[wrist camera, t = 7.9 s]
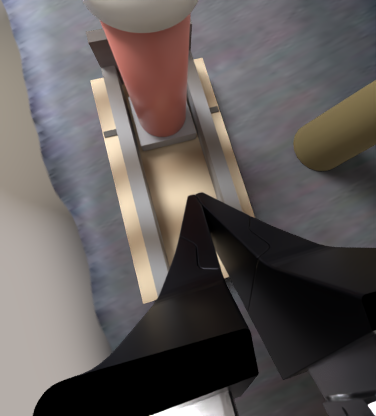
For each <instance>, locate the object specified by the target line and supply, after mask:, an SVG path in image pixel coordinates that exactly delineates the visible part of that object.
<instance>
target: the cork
mask: <svg viewBox="0 0 376 416" xmlns="http://www.w3.org/2000/svg"><path fill="white" fill-rule="evenodd" d="M293 143H294V151H295V153H296V155H297V158H298V159H299V160H300V161H301V162H302V164H304V165H305V166H307V167H308V168H310V169H313V170H316V171H327V170H330V169H333V168H334V167H336V166H338V165H340V164H342V163H343V162H345V161H347V160H349V159H351V158H352V157H354V156H356V155H358V154H360V153H361V152H363V151H365V150H367V149H369V148H370V147H372V146H374V145H376V80H375V81H373V82H372V83H370V84H369V85H367V86H366V87H364V88H362V89H361V90H359V91H358V92H356V93H355V94H353V95H351V96H350V97H348V98H347V99H345V100H344V101H342V102H340V103H339V104H337V105H336V106H334V107H333V108H331V109H329V110H328V111H326V112H325V113H323V114H322V115H320V116H318V117H317V118H315V119H314V120H312V121H311V122H309V123H307V124H306V125H304V126H303V127H302V128H300V129H299V130H298V132H297V133H296V135H295V138H294V142H293Z"/></svg>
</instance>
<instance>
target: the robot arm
mask: <svg viewBox="0 0 376 416" xmlns="http://www.w3.org/2000/svg"><path fill="white" fill-rule="evenodd" d="M216 252H217V254H218V256H219V258H220V260H221V262H222V264H223V266H224V267H225V269H226V271H227V273H228V275H229V277H230V279H231V281H232V283H233V285H234V287H235V289H236V291H237V292H238V294H239V296H240V298H241V300H242V302H243V304H244V306H245V308H246V310H247V311H248V314H249V316H250V318H251V319H252V321H253V323H254V325H255V327H256V329H257V331H258V333H259V335H260V337H261V339H262V341H263V342H264V344H265V346H266V348H267V350H268V352H269V354H270V356H271V358H272V360H273V362H274V364H275V365H276V367H277V369H278V371H279V373H280V375H281V377H282V379H283V380H285V379H288V378H291V377H293V376H296V375H299V374H301V373H304V372H307V371H309V373H310V375H311V376H312V378H313V380H314V381H315V383H316V385H317V386H318V388H319V390H320V392H321V393H322V395H323V397H324V398H325V400H326V402H323V406H324V408H325V410H326V411H327V413H328V415H329V416H376V248H346V247H330V246H324V245H320V244H317V243H314V242H311V241H309V240H306V239H304V238H301V237H299V236H296V235H293V234H291V233H288V232H286V231H283V230H281V229H278V228H276V227H273V226H271V225H269V224H266V223H264V222H262V221H260V220H258V219H256V218H254V217H252V216H251V217H250V215H248V214H246V213H244V212H242V211H240V210H238V209H236V208H234V207H232V206H230V205H228V204H226V203H224V202H221V201H219V200H217V199H215V198H213V197H211V196H209V195H207V194H205V193H203V192H200V193H197V194H193V195H189V196H188V197H187V201H186V206H185V211H184V216H183V220H182V225H181V230H180V234H179V239H178V243H177V247H176V251H175V254H174V257H173V260H172V263H171V266H170V268H169V271H168V274H167V276H166V279H165V281H164V284H163V287H162V289H161V292H160V294H159V296H158V298H157V300H156V302H155V303H154V305H153V306H152V307H151V308H150V310H149V311H148V312H147V313H146V314H145V315H144V317H143V318H142V319H141V320H140V321H139V322H138V324H137V325H136V326H135V327H134V328H133V329H132V331H131V332H130V333H129V334H128V335H127V336H126V338H125V339H124V340H123V341H122V342H121V344H120V345H119V346H118V347H117V348H116V349H115V350H114V351H113V352H112V353H111V355H110V356H109V357H107V358H106V359H105V360H104V361H103V362H102V363H100V364H99V365H97V366H96V367H94V368H93V369H92V370H89V371H87V372H85V373H83V374H80V375H77V376H74V377H72V378H69V379H66V380H63V381H61V382H58V383H56V384H54V385H53V386H51V387H50V388H49V389H47V390H46V391H45V392H44V394H43V395H42V396H41V398H40V399H39V401H38V403H37V405H36V407H35V409H34V413H33V416H239V414H238V411H237V407H236V404H235V400H234V399H235V398H237V397H240V396H241V395H242V394H243V393H244V391H245V390H246V389H247V388H248V387H249V385H250V384H251V383H252V382H253V380H254V379H255V378H256V377H257V375H258V374H259V372H258V367H257V362H256V357H255V352H254V347H253V342H252V336H251V332H250V330H249V328H248V326H247V324H246V322H245V320H244V318H243V316H242V314H241V312H240V310H239V308H238V306H237V304H236V302H235V301H234V299H233V297H232V295H231V293H230V291H229V289H228V287H227V285H226V282H225V280H224V277H223V274H222V271H221V267H220V264H219V260H218V257H217V254H216Z"/></svg>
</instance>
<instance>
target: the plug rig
mask: <svg viewBox="0 0 376 416" xmlns="http://www.w3.org/2000/svg"><path fill="white" fill-rule="evenodd" d="M191 31H192V22H191V19H190V33H189V55H188V77H187V98H186V101H187V104H188V107H189V111H190V114H191V117H192V120H193V124H194V127H195V130H196V138H195V139H193V140H188V141H184V142H180V143H176V144H172V145H168V146H164V147H159V148H155V149H151V150H147V151H143V149H142V147H141V144H140V140H139V137H138V133H137V129H136V125H135V121H134V118H133V114H132V110H131V106H130V102H129V99H128V97H129V94H128V91H127V89H126V86H125V84H124V81H123V78H122V76H121V73H120V71H119V68H118V65H117V63H116V60H115V58H114V55H113V53H112V50H111V47H110V45H109V42H108V40H107V37H106V34H105V32H104V29H99V30H93V31H87V32H86V34H87V39H88V43H89V45H90V47H91V49H92V51H93V53H94V55H95V57H96V59H97V61H98V63H99V65H100V67H101V70H102V74H103V78H100V79H95V80H90V81H91V85H92V90H93V94H94V98H95V102H96V106H97V111H98V115H99V119H100V123H101V127H102V132H103V136H104V140H105V144H106V148H107V153H108V157H109V161H110V165H111V170H112V174H113V178H114V182H115V186H116V191H117V195H118V199H119V203H120V207H121V212H122V216H123V220H124V224H125V228H126V233H127V237H128V241H129V245H130V250H131V254H132V258H133V262H134V266H135V271H136V275H137V279H138V283H139V287H140V292H141V296H142V300H143V304H145V303H148V302H151V301H154V300H157V298H158V296H159V294H160V292H161V289H162V287H163V284H164V281H165V279H166V276H167V274H168V271H169V268H170V266H171V263H172V260H173V257H174V254H175V251H176V247H177V243H178V239H179V234H180V230H181V225H182V220H183V216H184V211H185V206H186V201H187V197H188V196H189V195H193V194H197V193H200V192H203V193H205V194H207V195H209V196H211V197H213V198H215V199H217V200H219V201H221V202H224V203H226V204H228V205H230V206H232V207H234V208H236V209H238V210H240V211H242V212H244V213H246V214H248V215H250V217H251V216H252V217H254V218H255V216H254V213H253V210H252V207H251V204H250V201H249V198H248V195H247V192H246V189H245V186H244V183H243V180H242V177H241V174H240V171H239V168H238V165H237V162H236V159H235V156H234V153H233V150H232V147H231V144H230V140H229V137H228V134H227V131H226V128H225V125H224V122H223V119H222V116H221V113H220V110H219V107H218V104H217V101H216V98H215V95H214V92H213V89H212V86H211V83H210V80H209V77H208V74H207V71H206V68H205V65H204V62H203V59H202V58H199V59H194V60H193V57H192V54H191V50H190V49H191ZM216 254H217V252H216ZM217 257H218V260H219V264H220V267H221V271H222V274H223V277H224V278H227V277H229V275H228V273H227V271H226V269H225V267H224V266H223V264H222V262H221V260H220V258H219V256H218V254H217Z"/></svg>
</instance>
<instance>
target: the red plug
mask: <svg viewBox="0 0 376 416" xmlns="http://www.w3.org/2000/svg"><path fill="white" fill-rule="evenodd" d="M82 1H83V3H84V4H85V6H86V7H87V9H88V10H89V11H90V12H91V13H92V14H93V15H94V16H95V17H96V18H98V19H99V20H100V21H101V24H102V27H103V29H104V32H105V34H106V37H107V40H108V42H109V45H110V47H111V50H112V53H113V55H114V58H115V60H116V63H117V65H118V68H119V71H120V73H121V76H122V78H123V81H124V84H125V86H126V89H127V91H128V94H129V97H128V99H129V102H130V106H131V110H132V114H133V118H134V121H135V125H136V129H137V133H138V137H139V140H140V144H141V147H142V149H143V151H147V150H151V149H155V148H159V147H164V146H168V145H172V144H176V143H180V142H184V141H188V140H193V139H195V138H196V130H195V127H194V124H193V120H192V117H191V114H190V111H189V107H188V104H187V101H186V98H187V77H188V55H189V33H190V13H191V12H192V10H193V9H194V7H195V6H196V4H197V2H198V0H82Z"/></svg>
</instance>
